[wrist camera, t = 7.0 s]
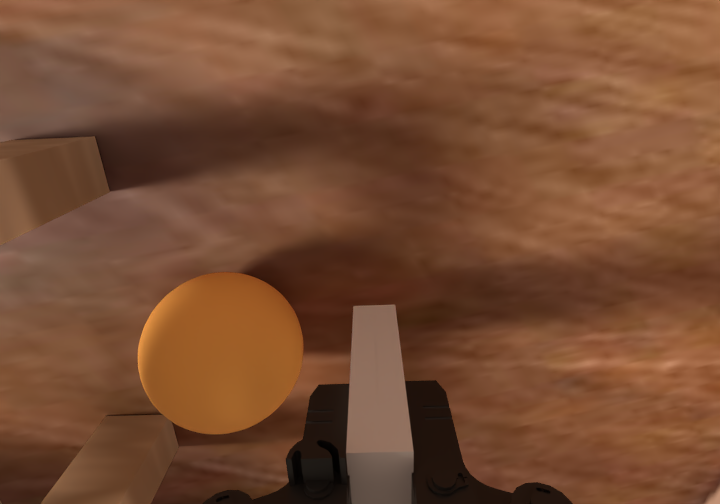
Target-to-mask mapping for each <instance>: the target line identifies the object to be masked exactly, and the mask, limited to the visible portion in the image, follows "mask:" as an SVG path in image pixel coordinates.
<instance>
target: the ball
mask: <svg viewBox="0 0 720 504" xmlns="http://www.w3.org/2000/svg"><path fill="white" fill-rule="evenodd" d="M302 360H303V336H302V330H301V327H300V324H299V321H298V318H297V316H296V314H295V312H294V310H293V308H292V307H291V305H290V304H289V303H288V301H287V300H286V299H285V298H284V296H283V295H282V294H281V293H280V292H278V291H277V290H276V289H275V288H274V287H272V286H270V285H269V284H267V283H266V282H264V281H262V280H260V279H258V278H255V277H252V276H250V275H245V274H241V273H233V272H218V273H210V274H206V275H202V276H199V277H196V278H194V279H191V280H189V281H187V282H185V283H183V284H181V285H180V286H178V287H177V288H175V289H174V290H173V291H171V292H170V293H169V294H167V295H166V296H165V297H164V298H163V299H162V300H161V301H160V303H159V304H158V305H157V306H156V307H155V309H154V310H153V311H152V313H151V315H150V317H149V318H148V320H147V322H146V324H145V326H144V329H143V332H142V335H141V338H140V342H139V348H138V368H139V374H140V379H141V382H142V385H143V388H144V390H145V392H146V394H147V395H148V397H149V399H150V401H151V402H152V404H153V405H154V406H155V407H156V408H157V410H158V411H159V412H160V413H161V414H163V415H164V416H165V417H166V418H167V419H169V420H170V421H172V422H173V423H175V424H176V425H178V426H180V427H182V428H185V429H187V430H190V431H194V432H197V433H203V434H227V433H232V432H236V431H241V430H244V429H246V428H249V427H251V426H253V425H255V424H257V423H259V422H261V421H262V420H264V419H265V418H267V417H268V416H269V415H271V414H272V413H273V412H274V411H275V410H276V409H277V408H278V407H279V406H280V405H281V404H282V403H283V402H284V401H285V399H286V398H287V396H288V395H289V394H290V392H291V391H292V389H293V387H294V385H295V383H296V381H297V378H298V376H299V373H300V370H301V366H302Z"/></svg>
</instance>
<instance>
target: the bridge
mask: <svg viewBox="0 0 720 504" xmlns="http://www.w3.org/2000/svg"><path fill="white" fill-rule="evenodd" d="M109 192H110V190H109V187H108V183H107V179H106V176H105V172H104V168H103V165H102V161H101V157H100V153H99V150H98V146H97V142H96V139H95V136H93V137H70V138H48V139H25V140H10V141H5V142H0V245H2V244H4V243H6V242H8V241H10V240H12V239H14V238H17V237H19V236H21V235H23V234H25V233H27V232H29V231H31V230H33V229H35V228H37V227H39V226H41V225H43V224H45V223H47V222H49V221H51V220H53V219H55V218H58V217H60V216H62V215H64V214H66V213H68V212H70V211H72V210H74V209H76V208H78V207H80V206H82V205H84V204H86V203H88V202H90V201H92V200H94V199H97V198H99V197H101V196H103V195H105V194H107V193H109ZM178 448H179V446H178V442H177V439H176V435H175V431H174V427H173V424H172V421H170V420H169V419H167V418H166V417H165V416H164V415H128V416H106V417H105V418H104V419H103V421H102V422H101V423H100V425H99V426H98V427H97V429H96V430H95V431H94V433H93V434H92V435H91V437H90V438H89V439H88V441H87V442H86V443H85V445H84V446H83V447H82V449H81V450H80V451H79V453H78V454H77V455H76V457H75V458H74V459H73V461H72V462H71V463H70V465H69V466H68V467H67V469H66V470H65V471H64V473H63V474H62V475H61V477H60V478H59V479H58V481H57V482H56V483H55V485H54V486H53V487H52V489H51V490H50V492H49V493H48V494H47V496H46V497H45V498H44V500H43V501H42V502H41V504H151V502H152V500H153V498H154V496H155V494H156V492H157V490H158V488H159V486H160V484H161V482H162V480H163V478H164V476H165V474H166V472H167V470H168V468H169V466H170V464H171V462H172V460H173V458H174V456H175V454H176V452H177V450H178ZM0 504H2V503H1V501H0Z"/></svg>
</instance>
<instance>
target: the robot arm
mask: <svg viewBox="0 0 720 504" xmlns="http://www.w3.org/2000/svg"><path fill="white" fill-rule="evenodd" d="M286 464H287V471H288V478H289V483H288V484H287V485H286V486H284V487H283V488H281V489H280V490H278V491H276V492H274V493H271V494H269V495H266V496H263V497H260V498H257V499H253V500H252V499H251V498H250V496H249V495H248V494H246V493H244V492H241V491H239V490H227V491H224V492H220V493H217V494H215V495H214V496H212V497H211V498H209V499H208V500H206V501H205V502H204V503H203V504H572V502H571V501H570V500H569V499H568V498H567V497H566V496H565V495H564V494H563V493H562V492H560V491H558V490H556V489H555V488H553V487H551V486H549V485H545V484H541V483H538V482H537V483H525V484H523V485H521V486H519V487H517V488H516V490H515V491H514V493H509V492H506V491H502V490H498V489H495V488H492V487H489V486H486V485H484V484H483V483H481V482H479V481H478V480H476V479H475V478H474V477H473V476H472V475H471V474H470V473H469V472H468V470H467V469H466V467H465V465H464V463H463V460H462V456H461V452H460V448H459V444H458V440H457V436H456V432H455V428H454V424H453V420H452V416H451V412H450V408H449V403H448V399H447V395H446V392H445V391H444V389H443V388H442V387H441V386H440V385H439V384H438V382H437V381H436V380H435V381H405V379H404V371H403V363H402V355H401V347H400V339H399V331H398V323H397V315H396V307H395V305H368V306H353V325H352V345H351V365H350V384H327V385H318V387H317V388H316V389H315V391H314V392H313V393H312V395H311V396H310V400H309V406H308V413H307V418H306V424H305V430H304V436H303V440H301V441H299V442H297V443H296V444H295V445H294V446H293V447H292V448H291V449H290V451H289V453H288V455H287V458H286Z"/></svg>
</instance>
